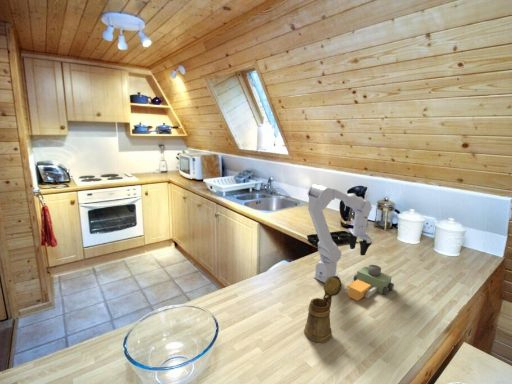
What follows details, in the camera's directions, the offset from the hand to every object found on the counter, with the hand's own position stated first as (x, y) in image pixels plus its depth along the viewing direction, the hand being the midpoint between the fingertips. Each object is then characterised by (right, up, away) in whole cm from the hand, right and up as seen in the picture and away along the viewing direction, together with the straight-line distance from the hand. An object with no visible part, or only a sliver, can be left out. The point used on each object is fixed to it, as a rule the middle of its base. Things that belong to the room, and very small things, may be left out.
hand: (357, 251), depth 138 cm
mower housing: (0, -13, -13) cm, 19 cm away
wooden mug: (-26, -18, -40) cm, 51 cm away
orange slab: (-6, -14, -19) cm, 24 cm away
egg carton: (-2, -2, +40) cm, 40 cm away
